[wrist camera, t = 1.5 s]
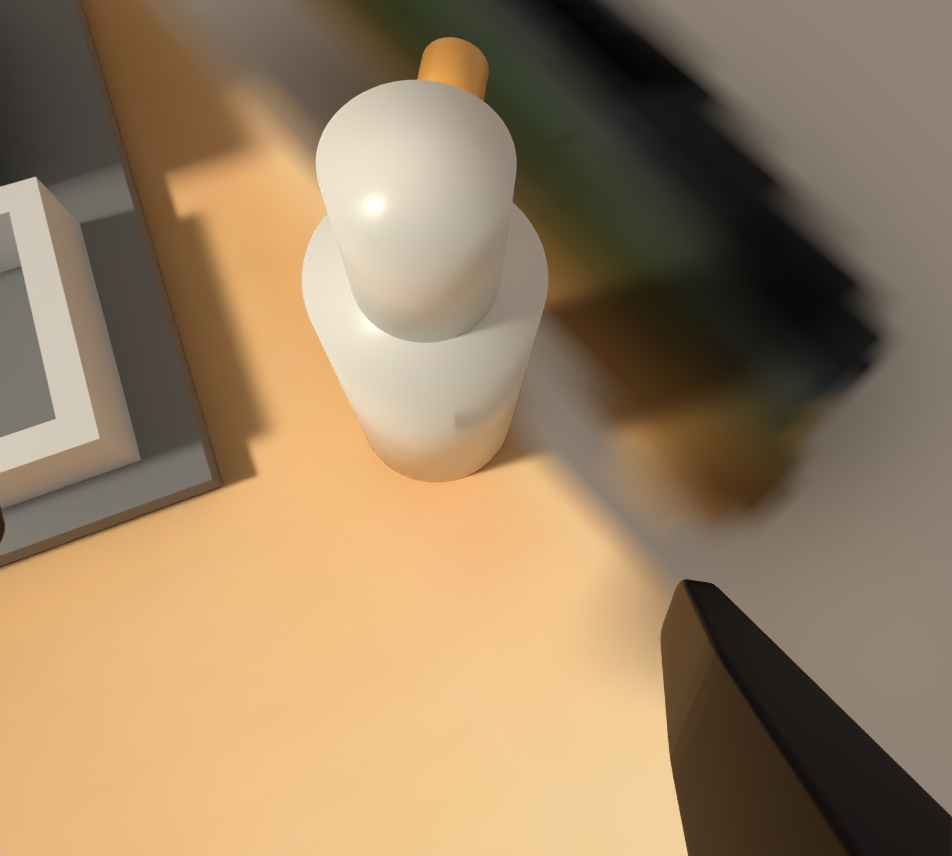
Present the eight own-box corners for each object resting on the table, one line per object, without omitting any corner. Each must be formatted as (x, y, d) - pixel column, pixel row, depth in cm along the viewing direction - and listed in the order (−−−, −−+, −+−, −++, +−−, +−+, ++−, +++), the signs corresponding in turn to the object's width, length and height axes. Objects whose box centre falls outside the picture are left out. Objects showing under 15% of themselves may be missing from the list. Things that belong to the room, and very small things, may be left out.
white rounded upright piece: (501, 493, 21) (559, 331, 10) (346, 469, 22) (213, 280, 10) (525, 315, 23) (600, -6, 11) (384, 294, 23) (310, -47, 11)
